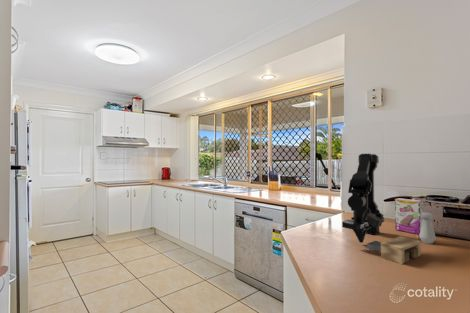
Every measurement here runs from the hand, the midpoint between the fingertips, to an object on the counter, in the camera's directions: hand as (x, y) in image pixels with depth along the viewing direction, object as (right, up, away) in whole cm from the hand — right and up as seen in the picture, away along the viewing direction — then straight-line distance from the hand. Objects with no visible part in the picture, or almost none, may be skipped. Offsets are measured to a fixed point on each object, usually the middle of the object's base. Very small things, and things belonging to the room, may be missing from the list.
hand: (361, 242), depth 105 cm
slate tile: (+7, -1, -8) cm, 11 cm away
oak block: (+8, -1, -13) cm, 16 cm away
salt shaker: (+31, -1, +3) cm, 31 cm away
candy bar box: (+35, -2, +20) cm, 40 cm away
